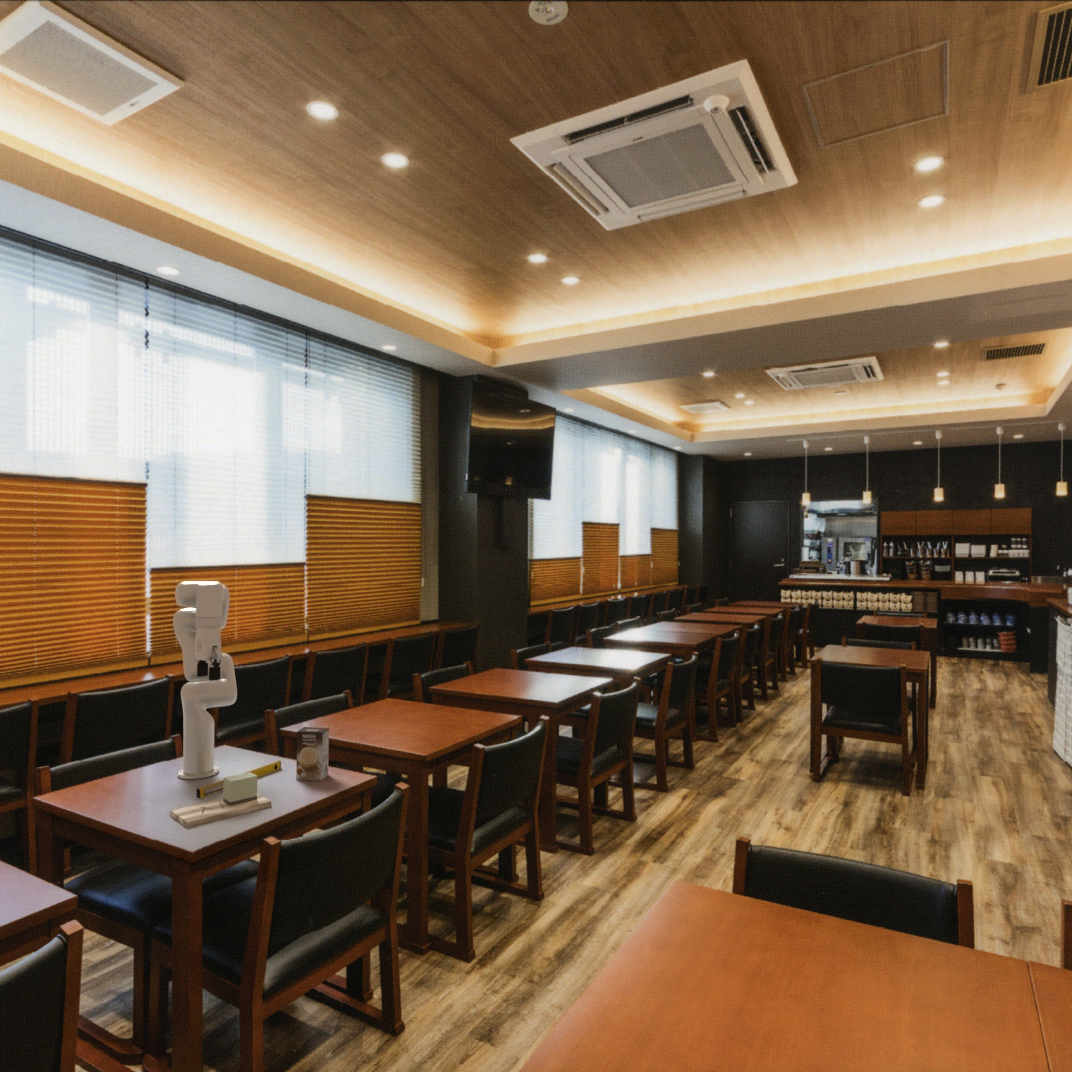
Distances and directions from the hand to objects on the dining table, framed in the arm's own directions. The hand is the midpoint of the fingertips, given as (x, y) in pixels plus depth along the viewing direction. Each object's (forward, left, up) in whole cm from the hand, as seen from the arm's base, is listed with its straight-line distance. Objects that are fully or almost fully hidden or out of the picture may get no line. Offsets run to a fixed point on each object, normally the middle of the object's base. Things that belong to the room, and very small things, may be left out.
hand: (208, 677), depth 228 cm
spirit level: (-5, +13, -37) cm, 39 cm away
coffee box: (+6, +32, -36) cm, 49 cm away
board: (+16, -2, -36) cm, 40 cm away
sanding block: (+16, +4, -35) cm, 38 cm away
